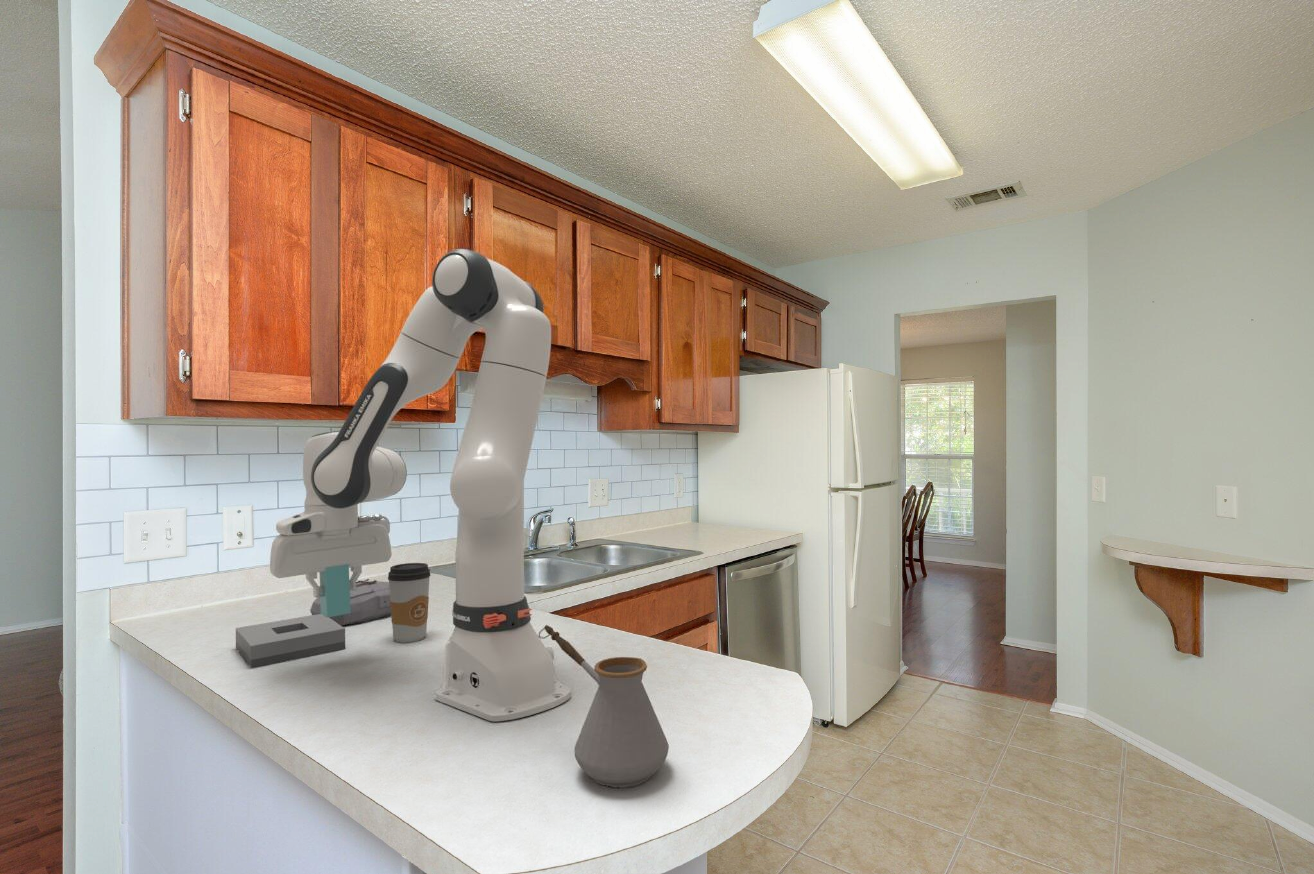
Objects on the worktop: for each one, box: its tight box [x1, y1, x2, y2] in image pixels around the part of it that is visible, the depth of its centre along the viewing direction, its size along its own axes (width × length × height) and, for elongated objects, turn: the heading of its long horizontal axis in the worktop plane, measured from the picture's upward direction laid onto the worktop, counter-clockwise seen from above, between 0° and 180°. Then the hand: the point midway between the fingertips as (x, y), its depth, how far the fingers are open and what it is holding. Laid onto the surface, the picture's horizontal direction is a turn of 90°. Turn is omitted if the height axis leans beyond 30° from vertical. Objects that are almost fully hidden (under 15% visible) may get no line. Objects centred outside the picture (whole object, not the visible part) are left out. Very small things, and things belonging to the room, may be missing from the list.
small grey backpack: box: [309, 578, 391, 626], centre depth 151 cm, size 15×8×20 cm
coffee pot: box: [538, 624, 670, 789], centre depth 82 cm, size 21×12×15 cm, turn 46°
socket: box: [235, 614, 346, 669], centre depth 128 cm, size 16×16×4 cm
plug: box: [318, 564, 351, 618], centre depth 120 cm, size 4×4×9 cm
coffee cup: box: [387, 562, 431, 644], centre depth 134 cm, size 8×8×15 cm
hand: (335, 593), depth 120 cm, fingers closed on plug, 4 cm apart
